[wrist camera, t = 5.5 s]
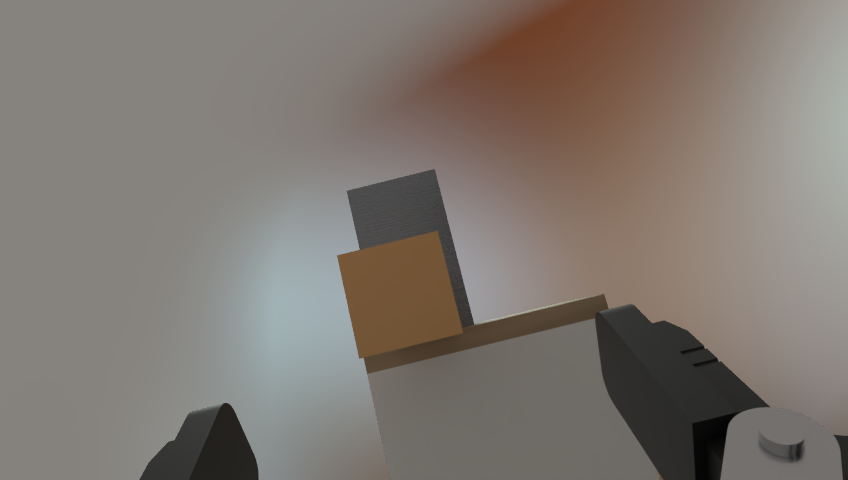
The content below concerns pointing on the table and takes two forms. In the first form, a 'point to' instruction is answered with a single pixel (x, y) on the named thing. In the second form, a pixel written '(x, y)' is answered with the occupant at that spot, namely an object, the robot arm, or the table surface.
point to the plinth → (506, 403)
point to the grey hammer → (402, 267)
